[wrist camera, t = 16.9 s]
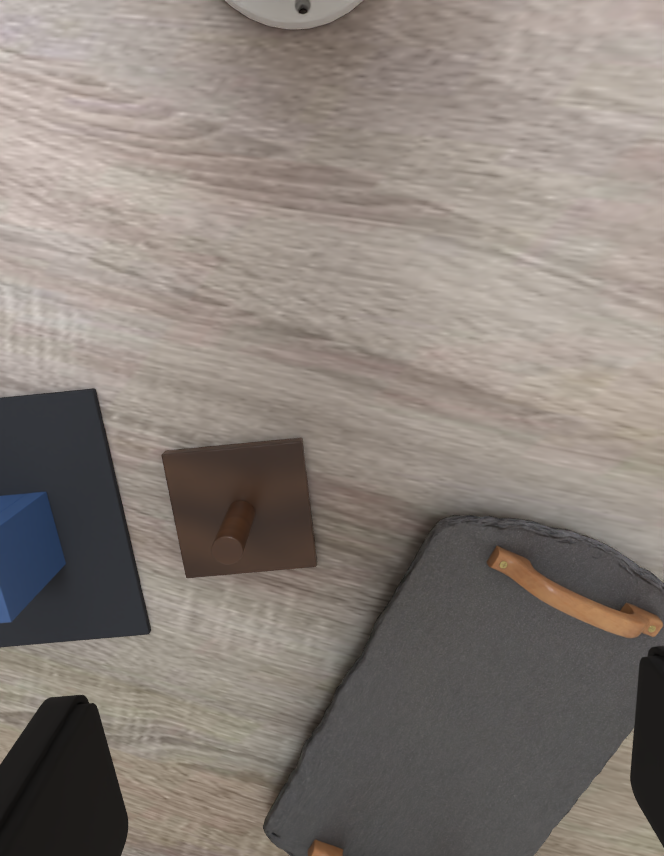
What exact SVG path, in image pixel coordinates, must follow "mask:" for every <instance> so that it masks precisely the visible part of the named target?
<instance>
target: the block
mask: <svg viewBox="0 0 664 856" xmlns="http://www.w3.org/2000/svg"><path fill="white" fill-rule="evenodd" d="M65 564H66V562H65V558H64V555H63V551H62V547H61V544H60V540H59V536H58V533H57V529H56V525H55V522H54V518H53V514H52V511H51V507H50V503H49V500H48V496H47V493H46V492H36V493H28V494H16V495H6V496H0V623H8V622H12V621H13V620H14V619H15V618H16V617H17V616H18V615H19V614H20V612H21V611H22V610H23V609H24V608H25V607H26V606H27V605H28V604H29V603H30V602H31V601H32V600H33V599H34V597H35V596H36V595H37V594H38V593H39V592H40V591H41V590H42V589H43V588H44V587H45V586H46V585H47V584H48V582H49V581H50V580H51V579H52V578H53V577H54V576H55V575H56V574H57V573H58V572H59V571H60V570H61V569H62V567H63V566H64V565H65Z"/></svg>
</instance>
